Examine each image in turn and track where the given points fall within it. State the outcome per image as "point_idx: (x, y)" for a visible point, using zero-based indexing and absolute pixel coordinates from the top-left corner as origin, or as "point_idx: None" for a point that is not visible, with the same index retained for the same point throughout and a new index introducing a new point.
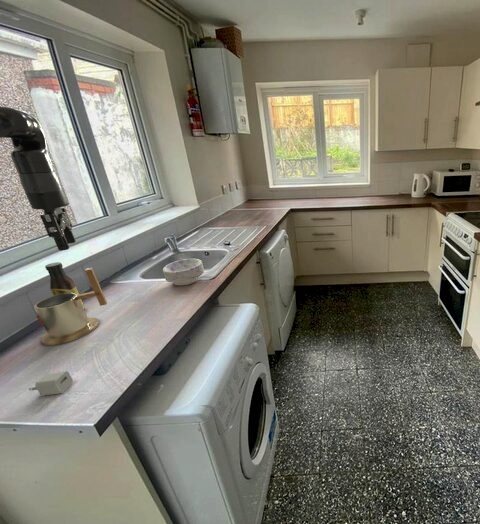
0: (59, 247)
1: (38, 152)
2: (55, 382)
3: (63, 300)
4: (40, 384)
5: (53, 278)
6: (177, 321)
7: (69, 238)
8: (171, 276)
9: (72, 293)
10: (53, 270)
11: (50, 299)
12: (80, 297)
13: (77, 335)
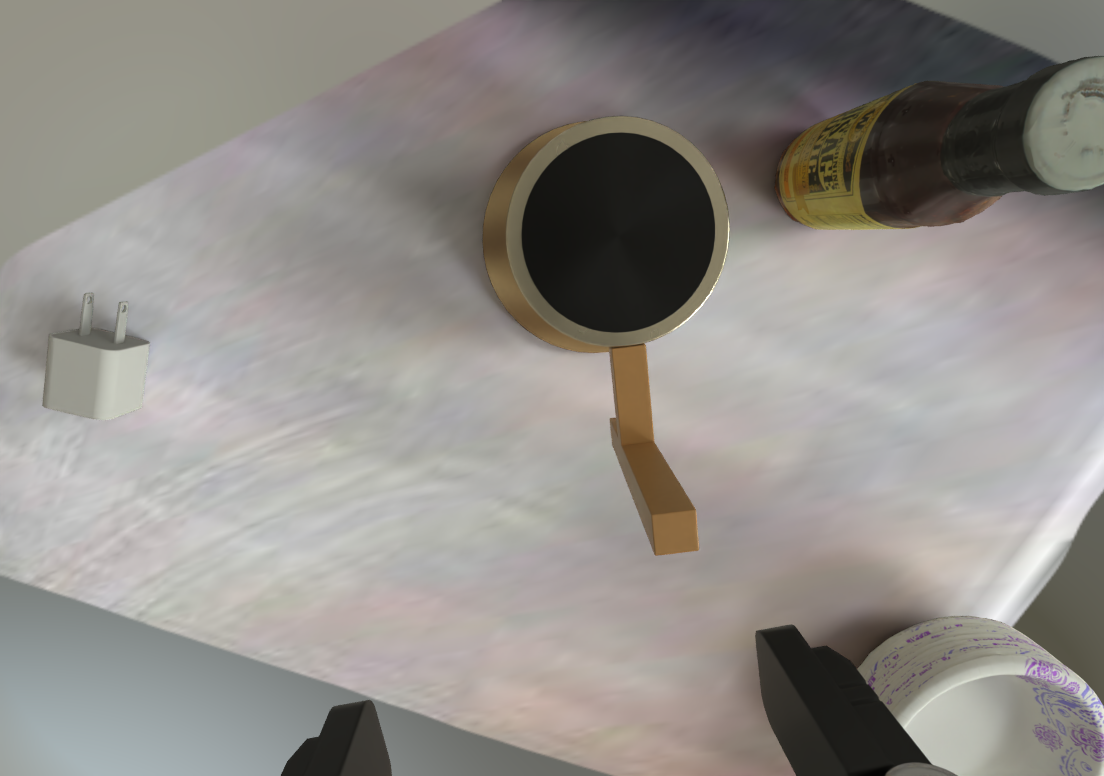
0: (288, 767)
1: None
2: (43, 404)
3: (576, 294)
4: (47, 353)
5: (944, 127)
6: (450, 685)
7: (792, 726)
8: (885, 690)
9: (692, 302)
10: (991, 142)
11: (648, 193)
12: (612, 366)
13: (508, 299)
